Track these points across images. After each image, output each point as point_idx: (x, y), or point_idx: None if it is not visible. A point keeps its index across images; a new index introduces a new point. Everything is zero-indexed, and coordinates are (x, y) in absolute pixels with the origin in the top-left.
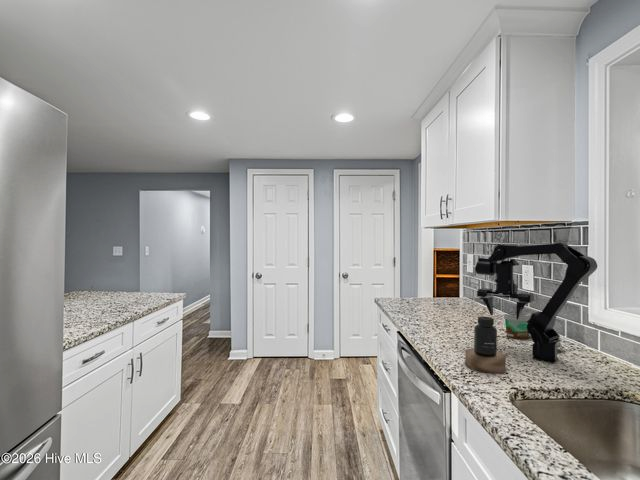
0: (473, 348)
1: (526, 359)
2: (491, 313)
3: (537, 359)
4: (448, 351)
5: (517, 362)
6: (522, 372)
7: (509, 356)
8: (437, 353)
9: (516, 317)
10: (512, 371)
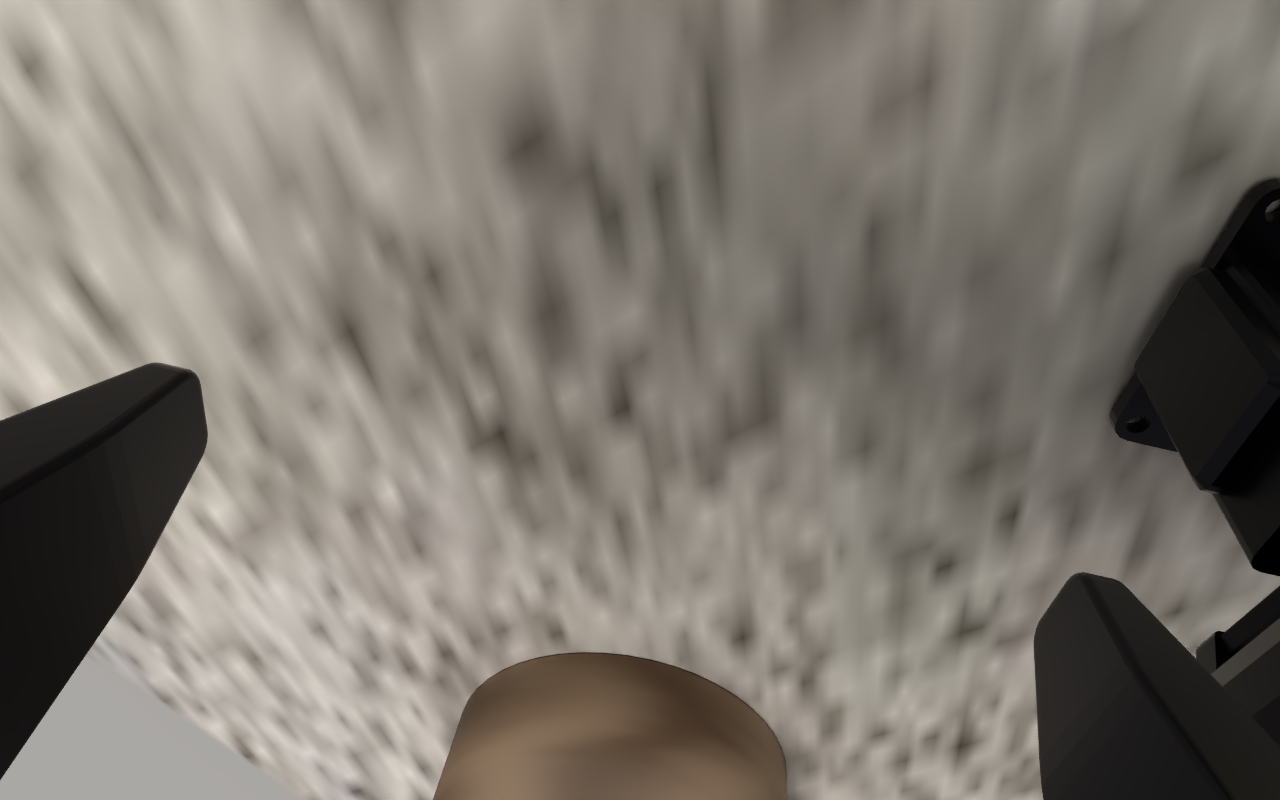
0: (458, 787)
1: (1017, 460)
2: (165, 520)
3: (1170, 441)
4: (198, 569)
5: (896, 590)
6: (923, 775)
7: (808, 446)
8: (168, 651)
9: (1037, 708)
10: (842, 780)
